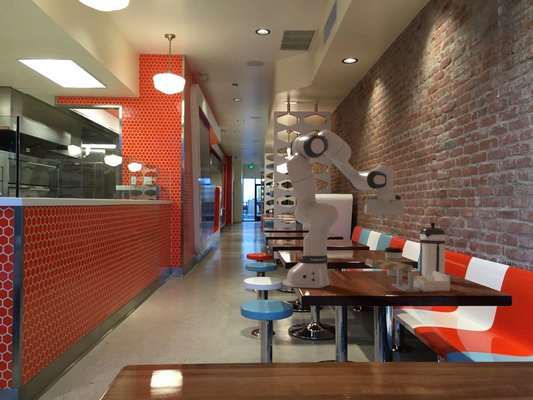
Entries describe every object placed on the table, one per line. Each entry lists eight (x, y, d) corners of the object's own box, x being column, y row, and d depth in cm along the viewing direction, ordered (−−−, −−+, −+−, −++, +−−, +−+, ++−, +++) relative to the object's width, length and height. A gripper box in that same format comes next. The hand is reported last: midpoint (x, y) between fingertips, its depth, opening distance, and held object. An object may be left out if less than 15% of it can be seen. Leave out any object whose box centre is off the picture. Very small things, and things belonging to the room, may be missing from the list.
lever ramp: (371, 269, 187) (372, 260, 187) (358, 263, 204) (359, 256, 204) (423, 275, 191) (424, 267, 191) (406, 269, 207) (407, 262, 207)
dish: (423, 291, 188) (424, 275, 188) (409, 285, 201) (409, 271, 201) (449, 291, 189) (450, 275, 189) (433, 285, 203) (434, 270, 203)
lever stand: (406, 292, 186) (406, 272, 186) (391, 285, 201) (392, 267, 201) (419, 291, 186) (419, 272, 187) (403, 285, 201) (403, 267, 201)
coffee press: (454, 282, 210) (455, 223, 210) (422, 282, 210) (423, 222, 211) (440, 276, 227) (441, 221, 228) (411, 276, 228) (412, 221, 228)
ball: (420, 286, 192) (423, 278, 193) (416, 284, 196) (418, 276, 197) (428, 288, 193) (430, 280, 193) (423, 287, 197) (426, 279, 197)
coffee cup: (400, 274, 233) (400, 247, 233) (404, 277, 223) (404, 249, 223) (382, 273, 234) (382, 247, 234) (385, 276, 224) (386, 249, 224)
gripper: (367, 196, 209) (366, 223, 209) (405, 196, 212) (405, 224, 212) (362, 196, 215) (362, 223, 215) (400, 197, 218) (399, 223, 218)
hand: (383, 223), depth 213 cm, fingers closed
